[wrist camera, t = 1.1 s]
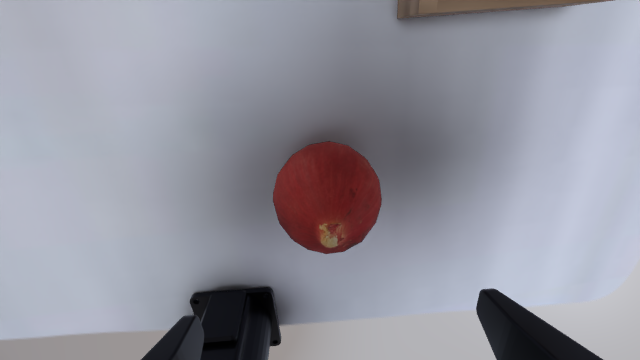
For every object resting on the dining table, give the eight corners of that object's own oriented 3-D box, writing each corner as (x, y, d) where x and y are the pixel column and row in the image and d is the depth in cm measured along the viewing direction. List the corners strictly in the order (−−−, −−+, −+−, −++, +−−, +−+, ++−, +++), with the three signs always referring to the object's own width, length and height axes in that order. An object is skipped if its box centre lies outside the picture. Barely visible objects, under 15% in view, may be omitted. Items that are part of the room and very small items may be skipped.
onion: (381, 181, 20) (424, 261, 13) (310, 220, 21) (312, 314, 14) (339, 108, 18) (362, 156, 11) (261, 156, 19) (234, 229, 12)
